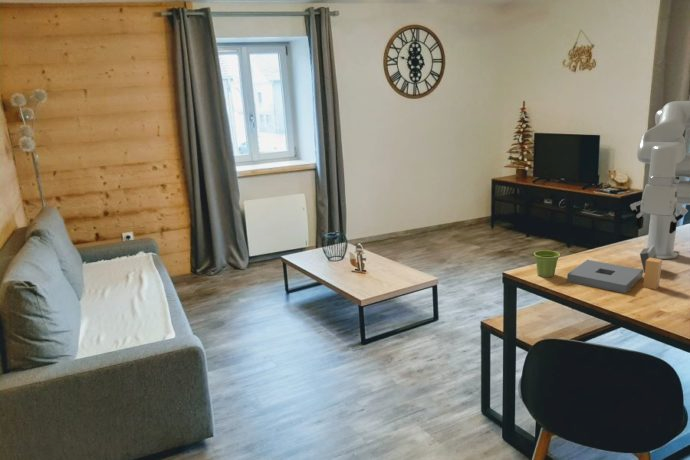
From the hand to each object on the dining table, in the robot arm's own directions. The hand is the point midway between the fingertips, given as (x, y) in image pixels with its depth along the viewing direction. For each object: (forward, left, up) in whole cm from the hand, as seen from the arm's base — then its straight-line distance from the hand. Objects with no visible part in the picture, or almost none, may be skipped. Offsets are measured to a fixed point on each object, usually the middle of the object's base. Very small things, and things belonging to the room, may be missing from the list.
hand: (655, 230), depth 179 cm
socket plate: (+1, -15, -21) cm, 25 cm away
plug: (-1, 0, -21) cm, 21 cm away
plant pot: (+9, -34, -21) cm, 41 cm away
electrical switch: (-18, -5, -21) cm, 28 cm away
